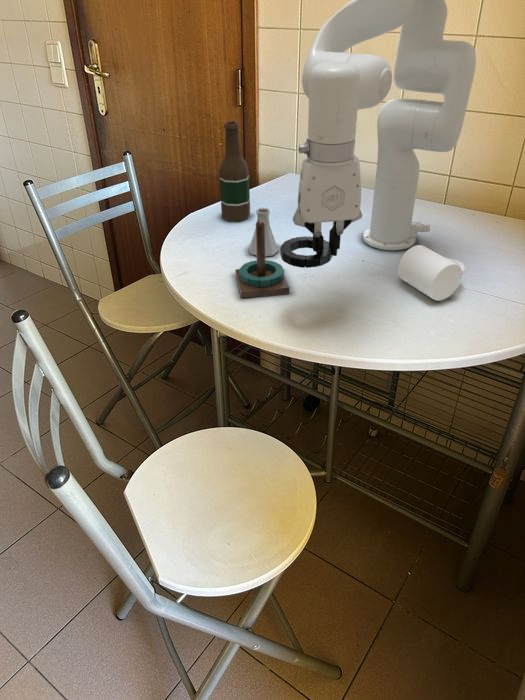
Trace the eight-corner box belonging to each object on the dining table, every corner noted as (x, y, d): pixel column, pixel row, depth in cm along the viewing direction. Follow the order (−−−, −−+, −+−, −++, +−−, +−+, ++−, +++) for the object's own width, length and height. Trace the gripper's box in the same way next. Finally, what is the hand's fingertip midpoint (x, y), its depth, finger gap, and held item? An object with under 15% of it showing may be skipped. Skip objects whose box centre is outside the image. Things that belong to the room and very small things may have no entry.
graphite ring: (324, 242, 99) (325, 234, 98) (337, 264, 92) (338, 256, 91) (276, 246, 98) (276, 238, 97) (286, 270, 91) (286, 261, 90)
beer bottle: (256, 214, 143) (253, 120, 129) (239, 224, 138) (235, 128, 123) (232, 209, 146) (227, 117, 132) (216, 218, 141) (209, 124, 127)
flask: (275, 258, 122) (275, 217, 116) (245, 256, 123) (243, 215, 117) (281, 245, 127) (281, 205, 121) (252, 243, 128) (250, 203, 123)
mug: (427, 305, 104) (434, 269, 99) (394, 284, 111) (400, 249, 106) (472, 290, 108) (481, 255, 103) (438, 270, 115) (444, 236, 111)
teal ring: (278, 264, 116) (278, 258, 115) (287, 284, 109) (287, 277, 108) (237, 268, 115) (236, 262, 114) (243, 289, 107) (243, 282, 106)
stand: (280, 271, 116) (280, 209, 108) (289, 293, 108) (290, 228, 100) (235, 275, 115) (232, 213, 107) (241, 298, 107) (238, 232, 99)
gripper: (287, 160, 81) (286, 267, 92) (386, 153, 82) (374, 258, 94) (278, 146, 87) (279, 248, 98) (371, 139, 88) (361, 240, 99)
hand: (325, 252), depth 96 cm, fingers closed on graphite ring, 2 cm apart
